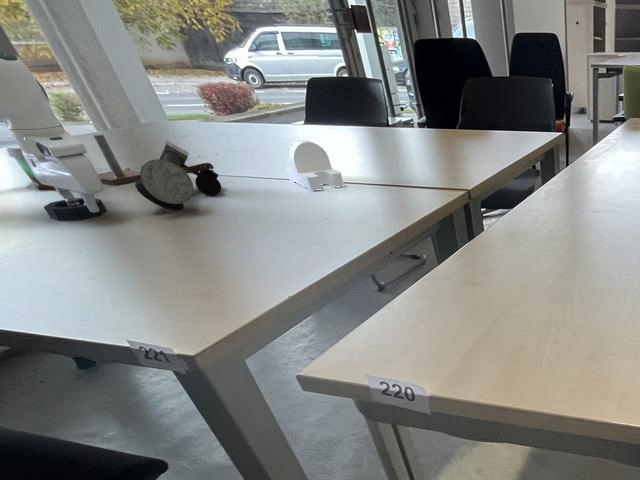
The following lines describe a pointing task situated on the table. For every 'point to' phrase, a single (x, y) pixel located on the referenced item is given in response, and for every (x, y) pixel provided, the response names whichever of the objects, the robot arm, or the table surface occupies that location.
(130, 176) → the peg stand
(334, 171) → the white round-backed notched block
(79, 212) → the ring
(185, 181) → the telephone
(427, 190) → the table surface
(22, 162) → the food container
